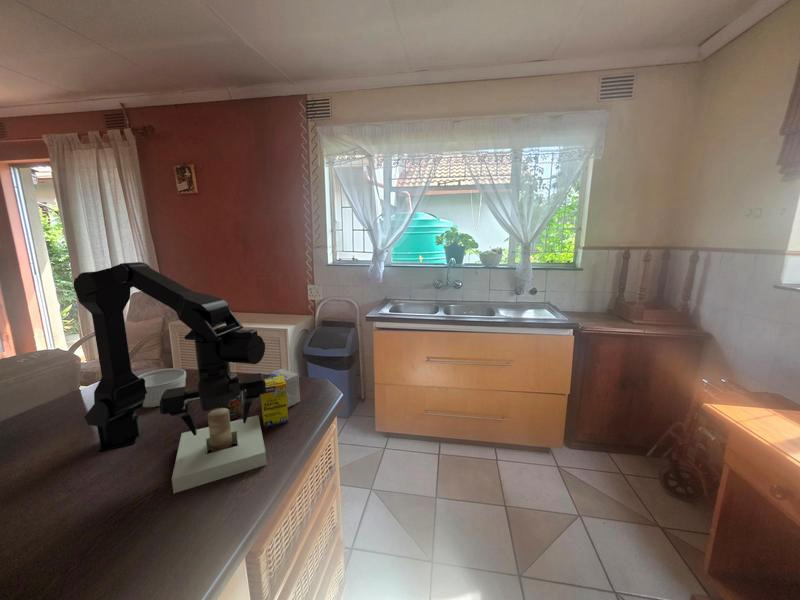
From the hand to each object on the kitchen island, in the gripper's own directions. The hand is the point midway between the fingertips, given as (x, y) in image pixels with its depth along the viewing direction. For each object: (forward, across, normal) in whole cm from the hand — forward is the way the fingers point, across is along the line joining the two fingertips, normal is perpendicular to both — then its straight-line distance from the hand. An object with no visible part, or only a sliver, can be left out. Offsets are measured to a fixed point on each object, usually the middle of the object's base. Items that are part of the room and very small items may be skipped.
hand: (220, 428), depth 68 cm
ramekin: (+7, -16, +37) cm, 41 cm away
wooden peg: (+6, 0, 0) cm, 6 cm away
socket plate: (+6, 0, 0) cm, 6 cm away
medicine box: (+7, +16, +18) cm, 25 cm away
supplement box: (+7, +12, +9) cm, 16 cm away
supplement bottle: (+7, +2, +17) cm, 18 cm away
